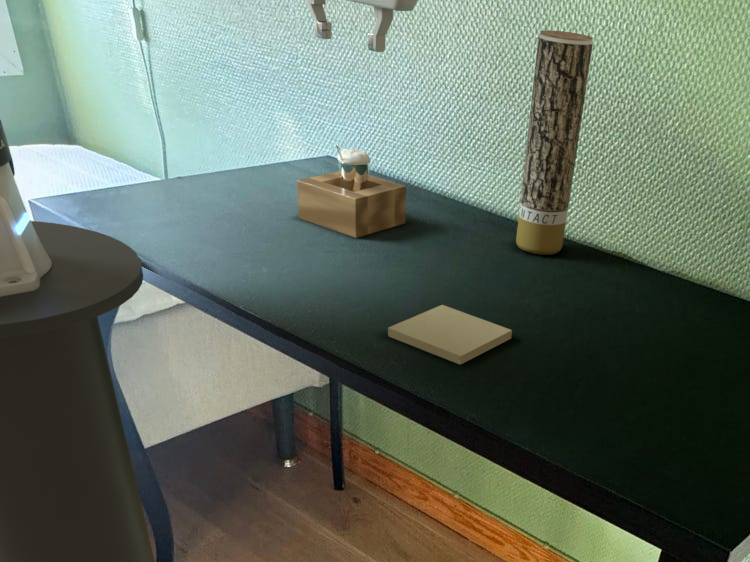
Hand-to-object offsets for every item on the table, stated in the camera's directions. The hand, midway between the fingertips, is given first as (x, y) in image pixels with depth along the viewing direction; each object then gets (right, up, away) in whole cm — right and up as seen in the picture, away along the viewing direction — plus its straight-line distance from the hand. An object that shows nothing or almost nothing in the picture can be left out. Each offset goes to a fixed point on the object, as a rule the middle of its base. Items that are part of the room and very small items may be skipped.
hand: (349, 44), depth 105 cm
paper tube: (+26, -21, +12) cm, 35 cm away
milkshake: (-2, -16, +13) cm, 21 cm away
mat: (+14, -44, -14) cm, 48 cm away
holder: (-2, -16, +13) cm, 21 cm away
